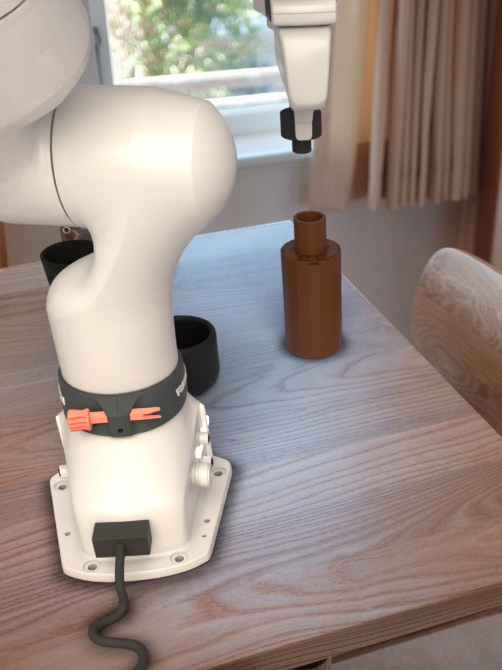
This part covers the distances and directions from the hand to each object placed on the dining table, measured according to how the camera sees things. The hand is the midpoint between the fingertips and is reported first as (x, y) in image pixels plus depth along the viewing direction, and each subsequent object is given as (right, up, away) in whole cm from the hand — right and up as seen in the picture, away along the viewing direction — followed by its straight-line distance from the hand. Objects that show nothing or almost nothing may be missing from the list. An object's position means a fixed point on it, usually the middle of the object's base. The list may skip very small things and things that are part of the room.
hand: (300, 130), depth 101 cm
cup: (-29, -20, +18) cm, 39 cm away
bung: (0, -2, +2) cm, 2 cm away
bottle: (+1, -21, +16) cm, 27 cm away
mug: (-16, -28, +9) cm, 33 cm away
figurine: (-31, -14, +26) cm, 42 cm away
